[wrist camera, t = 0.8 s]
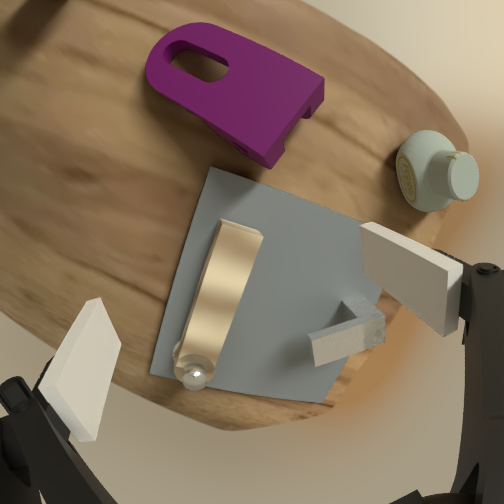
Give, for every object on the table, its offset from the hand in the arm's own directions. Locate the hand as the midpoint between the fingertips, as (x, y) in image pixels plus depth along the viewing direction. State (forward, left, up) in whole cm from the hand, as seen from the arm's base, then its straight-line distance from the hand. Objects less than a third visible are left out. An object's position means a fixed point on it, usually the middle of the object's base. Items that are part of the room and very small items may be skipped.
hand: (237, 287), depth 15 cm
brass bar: (+3, -11, -21) cm, 24 cm away
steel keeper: (+19, -9, -22) cm, 30 cm away
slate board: (+12, -10, -23) cm, 28 cm away
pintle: (+3, -19, -22) cm, 29 cm away
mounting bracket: (-4, +13, -24) cm, 27 cm away
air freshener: (+24, +14, -23) cm, 37 cm away
